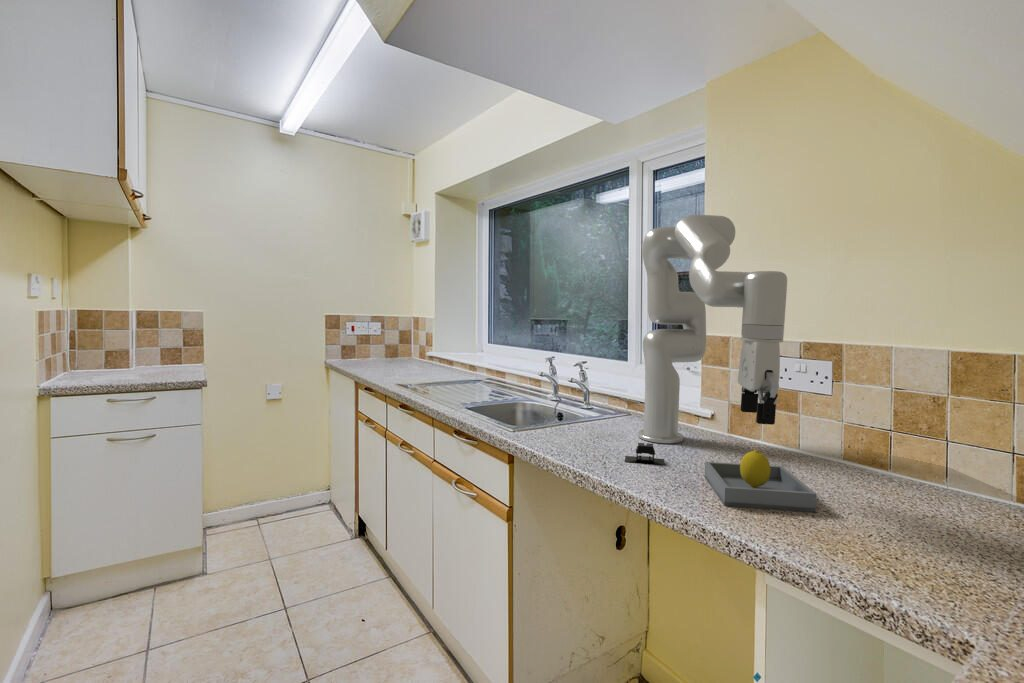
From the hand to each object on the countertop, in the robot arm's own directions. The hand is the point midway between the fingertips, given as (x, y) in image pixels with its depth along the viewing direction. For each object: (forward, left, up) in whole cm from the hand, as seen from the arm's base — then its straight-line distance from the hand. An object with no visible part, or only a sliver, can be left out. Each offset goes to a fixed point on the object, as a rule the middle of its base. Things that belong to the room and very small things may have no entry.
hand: (756, 417), depth 98 cm
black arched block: (-17, -20, -16) cm, 31 cm away
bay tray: (+1, 0, -16) cm, 16 cm away
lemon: (0, 0, -15) cm, 15 cm away
